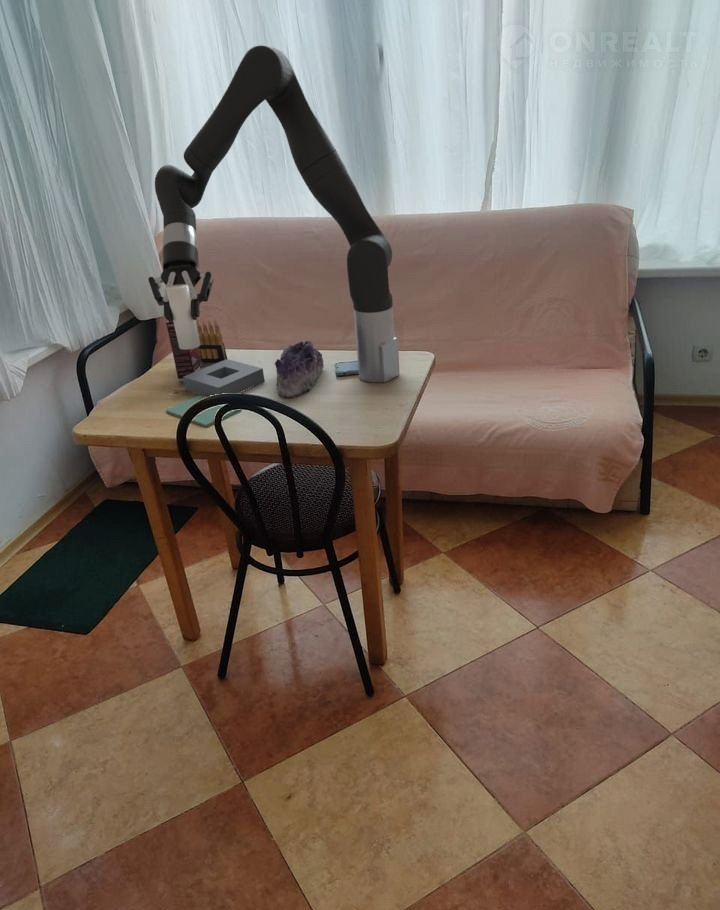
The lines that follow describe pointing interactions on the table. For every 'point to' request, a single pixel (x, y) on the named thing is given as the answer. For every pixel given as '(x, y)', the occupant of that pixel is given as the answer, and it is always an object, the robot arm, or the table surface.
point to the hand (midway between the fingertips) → (182, 319)
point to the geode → (298, 369)
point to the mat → (201, 419)
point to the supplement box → (183, 355)
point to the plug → (183, 316)
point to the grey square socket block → (224, 378)
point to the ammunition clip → (211, 343)
